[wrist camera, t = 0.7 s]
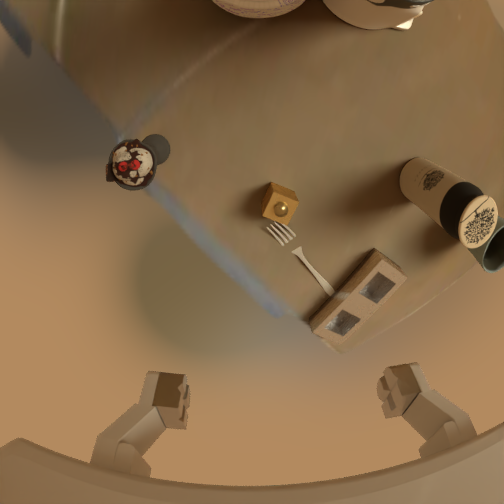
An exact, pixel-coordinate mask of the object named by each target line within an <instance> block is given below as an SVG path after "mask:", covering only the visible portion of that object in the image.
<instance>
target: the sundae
mask: <svg viewBox="0 0 504 504" xmlns="http://www.w3.org/2000/svg"><path fill="white" fill-rule="evenodd" d="M169 154H170V145H169V143H168V141H167V140H166V139H165V138H164V137H163V136H161V135H157V134H153V135H150V136H148V137H146V138H145V139H144V140H143V142H140V141H139V140H138V139H135V140H124V141H122V142H120V143H119V144H118V145H117V146H116V147H115V148H114V149H113V151H112V152H111V154H110V157H109V164H107V165H106V180H107V181H108V182H113V181H115V182H116V183H117V184H118V185H119V186H120V187H122V188H124V189H127V190H140V189H143V188H145V187H146V186H148V185H149V184H150V183H151V182H152V180H153V178H154V176H155V173H156V169H157V165H159V164H161V163H163V162H165V161H166V160H167V158H168V156H169Z"/></svg>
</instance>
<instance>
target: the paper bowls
mask: <svg viewBox="0 0 504 504" xmlns="http://www.w3.org/2000/svg"><path fill="white" fill-rule="evenodd" d="M212 1H213V2H214V3H215V4H217V5H218V6H219V7H221V8H222V9H224V10H226V11H228V12H230V13H232V14H235V15H238V16H242V17H248V18H268V17H275V16H279V15H282V14H285V13H288V12H290V11H292V10H294V9H296V8H297V7H299V6H300V5H301V4H302V3H303V2H304V1H305V0H212Z"/></svg>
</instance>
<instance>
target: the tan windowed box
mask: <svg viewBox="0 0 504 504" xmlns="http://www.w3.org/2000/svg"><path fill="white" fill-rule="evenodd" d="M406 279H407V276H406V275H405V274H404V272H403V271H402V269H401V268H400V267H399V266H398V265H397V264H396V263H394V262H393V261H392V260H390V259H389V258H388V257H386V256H385V255H383V254H382V253H381V252H379V251H378V250H377V249H375V248H374V249H373V250H372V251H371V252H370V253H369V254H368V256H367V257H366V258H365V259H364V260H363V261H362V263H361V264H360V265H359V266H358V267H357V268H356V269H355V270H354V272H353V273H352V274H351V275H350V276H349V277H348V278H347V279H346V280H345V282H344V283H343V284H342V285H341V286H340V287H339V288H338V289H337V290H336V291H335V292H334V293H333V295H332V296H331V297H330V298H329V299H328V300H327V301H326V302H325V303H324V304H323V305H322V306H321V307H320V308H319V309H318V310H317V311H316V312H315V313H314V314H313V315H312V316H311V317H310V318H309V322H310V326H311V331H312V333H314V334H316V335H318V336H321V337H323V338H325V339H328V340H330V341H332V342H335V343H337V344H342V343H343V342H344V341H345V340H346V339H347V338H348V337H349V336H350V335H351V334H352V333H354V332H355V331H356V330H357V329H358V328H359V327H360V326H361V325H362V324H363V323H364V322H365V321H366V320H367V319H368V318H369V317H370V316H371V315H372V314H373V313H374V312H375V311H376V310H377V309H378V308H379V307H380V306H381V305H382V304H383V303H384V302H385V301H386V300H387V299H388V298H389V297H390V296H391V295H392V294H393V293H394V292H395V291H396V290H397V289H398V288H399V287H400V286H401V285H402V284H403V282H404V281H405V280H406Z"/></svg>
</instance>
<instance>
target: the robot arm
mask: <svg viewBox="0 0 504 504" xmlns="http://www.w3.org/2000/svg"><path fill="white" fill-rule="evenodd" d="M322 1H323V2H324V3H325V5H326V6H327V7H328V8H329V9H330V10H331V11H332V12H333V13H334V14H335V15H336V16H338V17H339V18H341V19H342V20H344V21H345V22H347V23H349V24H352V25H354V26H357V27H360V28H364V29H374V30H375V29H383V28H394V29H398V30H403V31H404V30H407V29H409V28H410V27H411V24H412V21H413V19H414V18H415V17H418V16H420V15H421V14H422V13H423V12H422V9H423V7H424V5H426V4H429V3H430V2H431V1H433V0H322ZM383 373H384V376H383V377H381V378H380V379H379V381H378V383H377V393H378V397H379V399H380V400H382V401H383V404H382V409H383V412H384V415H385V418H392V417H397V416H402V417H403V418H404V419H405V420H406V421H407V422H408V423H409V424H410V425H411V426H412V427H413V428H414V429H415V430H416V431H417V432H418V433H419V434H420V435H421V436H422V437H423V438H424V439H425V440H426V442H425V443H424V444H423V445H422V446H421V447H420V448H419V452H420V456H421V458H420V459H417V460H414V461H410V462H407V463H404V464H400V465H397V466H393V467H390V468H386V469H382V470H378V471H374V472H369V473H365V474H360V475H355V476H350V477H344V478H338V479H332V480H326V481H318V482H310V483H300V484H288V485H271V486H223V485H206V484H194V483H184V482H176V481H169V480H162V479H156V478H150V473H151V467H150V466H149V465H148V464H147V462H146V461H145V460H144V459H143V458H142V456H143V455H144V453H145V452H146V451H147V450H148V449H149V448H150V446H151V445H152V444H153V443H154V442H155V441H156V439H158V437H159V436H160V435H161V434H162V433H163V432H164V431H165V429H166V428H174V429H186V426H187V419H188V414H187V411H186V409H187V408H188V407H189V404H190V389H189V386H188V385H187V377H186V375H185V374H174V373H164V372H156V371H148V373H147V374H146V378H145V381H144V385H143V389H142V392H141V396H140V400H139V404H134V405H133V406H132V407H131V408H130V409H128V410H127V411H126V412H125V413H124V414H123V415H121V416H120V417H119V418H118V419H117V420H116V421H115V422H114V423H112V424H111V425H110V426H109V427H108V428H106V429H105V430H104V431H103V432H102V433H101V434H99V435H98V436H97V440H96V443H95V447H94V450H93V454H92V458H91V461H90V463H87V462H84V461H81V460H78V459H75V458H72V457H68V456H66V455H63V454H60V453H58V452H55V451H52V450H50V449H47V448H45V447H42V446H40V445H38V444H35V443H33V442H31V441H29V440H26V439H23V438H17V439H14V440H13V441H11V442H9V443H7V444H6V445H4V446H2V447H1V448H0V504H504V422H503V423H501V424H499V425H497V426H495V427H493V428H491V429H489V430H488V431H485V432H484V433H481V434H480V435H477V433H476V431H475V429H474V426H473V424H472V422H471V420H470V417H469V415H468V414H467V413H466V412H465V411H463V410H462V409H460V408H459V407H458V406H456V405H455V404H453V403H452V402H451V401H449V400H448V399H446V398H445V397H444V396H442V395H441V394H440V393H438V392H437V391H435V390H431V388H430V386H429V384H428V382H427V379H426V377H425V375H424V373H423V371H422V369H421V367H420V365H419V364H418V363H417V362H414V363H409V364H402V365H397V366H390V367H387V368H385V370H384V372H383Z"/></svg>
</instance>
